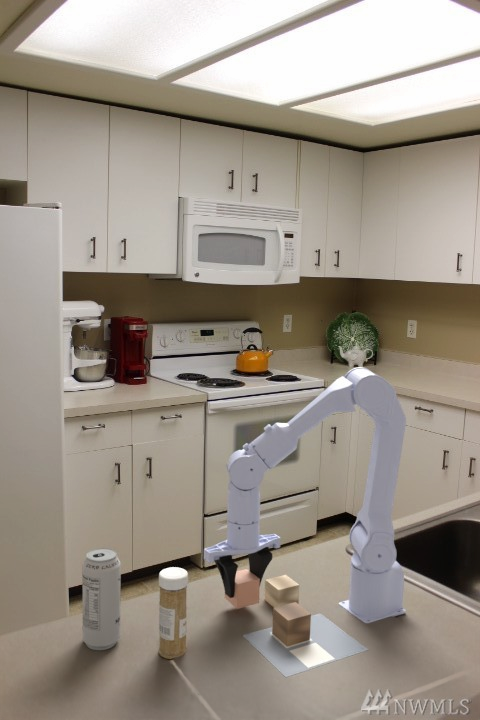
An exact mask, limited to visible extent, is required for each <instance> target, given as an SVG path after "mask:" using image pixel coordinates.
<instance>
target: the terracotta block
mask: <svg viewBox="0 0 480 720" xmlns="http://www.w3.org/2000/svg"><path fill="white" fill-rule="evenodd" d="M260 587H261V584H260V579H259V578H258V577H257V576H255V575H254V574H253V573H251V572H250V569H248V568H246V569H240V570H237V572H236V577H235V593H234V597H233V598H230V597H228V596H227V595H226V594H225V593H224V599H225V600H226V601H228V602H229V603H230V604H231V605H232V606H233V607H234V608H236V609H242V608H245V607H249V606H253V605H257V604H260Z"/></svg>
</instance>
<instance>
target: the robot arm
mask: <svg viewBox="0 0 480 720" xmlns="http://www.w3.org/2000/svg"><path fill="white" fill-rule="evenodd" d="M355 405H357V406H358V407H359V408H360V409H361V410H363V411H364V412H365V413H366V414H367V415H368V417H369V418H370V419H371V420H372V421H373V422H374V429H373V436H372V442H371V448H370V449H371V450H370V454H369V455H370V456H369V462H368V468H367V476H366V482H365V489H364V496H363V502H362V508H361V509H360V510H359V511H358V512H357V514H356V520H355V523H353V525H352V527H351V529H350V530H349V535H348V538H349V542H350V545H351V546H352V547H353V548H354V551H353V553H352V556H351V557H350V571H349V573H350V574H349V588H348V589H349V592H348V593H349V594H348V599H347V600H344V601H341V602H338V605H339V606H340V607H341V608H343V609H344V610H346V611H347V612H349V613H350V614H351V615H353V617H356V618H357V619H358V620H360V621H361V622H362V623H365V624H370V623H374V622H377V621H379V620H383V619H387V618H389V617H397V616H400V615H403V614H406V612H407V610H406V609H405V608H403V606H404V605H403V604H404V592H405V591H404V590H405V589H404V588H405V576H404V571H403V568H402V566H401V564H400V563H399V562H398V561H397V548H396V545H395V541H394V540H395V529H394V524H393V519H392V515H393V507H394V501H395V495H396V489H397V482H398V476H399V469H400V464H401V463H400V462H401V457H402V450H403V443H404V438H405V431H406V426H407V417H406V414H405V412H404V409H403V408H402V405H401V403H400V400H399V399H398V396H397V390H396V388H394V386H392V385H391V383H390V382H389V381H387V379H385V378H384V377H383V376H380V375H378V374H377V373H374V372H372V371H371V370H370V369H368V368H366V367H362V366H360V367H359V366H358V367H355V368H351V369H350V370H348V371H347V372H346V373H345V375H344V376H343V375H342V376H340V377H338V378H337V379H335V380H334V381H333V382H332V383H331V384H330V385H329V386H328V387H327V388H326V389H325V390H323V391H322V392H321V393H320V394H319V395H317V396H316V397H315V398H314V399H313V400H312V401H311V402H310V403H308V405H306V406H305V407H304V408H303V409H302V410H301V411H299V412H298V413H297V414H296V415H295V416H293V418H291V419H290V420H289V421H287V422H275V423H274V424H273V425H271V424H269V423H268V424H267V425H266V426H265V427H263V430H264V432H262V433H261V434H259V436H257V437H256V438H255V439H253V440H252V441H250V443H247V442H246V443H245V444H243V445H242V449H238V450H236V451H234V452H233V453H231V455H230V456H229V457H228V460H227V463H226V470H227V473H228V477H229V478H228V479H229V481H228V485H227V486H228V492H227V511H226V513H227V515H226V517H227V518H226V521H227V522H226V525H227V527H226V528H227V529H226V540H223V541H221V542H219V543H217V544H214V545H212V546H209V547H204V549H203V560H205V562H207V563H208V564H212V563H214V564H215V565H216V567H217V569H218V570H217V571H218V572H219V574H220V577H221V580H222V581H221V582H222V584H223V585H222V586H223V589H224V595H225V594H226V595H227V596H228V597H230V598H233V597H234V593H235V577H236V572H237V571H238V568H239V565H238V564H237V563H236V562H235V561H234V560H235V559H234V558H233V557H235V556H240V555H247V557H248V564H249V565H248V566H249V567H248V568H249V571H250V572H251V573H253V574H254V575H255V576H257V577H258V578H259V579H260V585H261V583H262V581H263V579H264V574H265V572H266V570H267V568H268V566H269V565H270V564H271V561H272V560H273V553H272V552H271V551H270V549H272V548H274V549H279V548H281V536H279V535H277V534H276V533H273V534H260V533H261V532H260V529H261V527H260V526H261V525H260V523H261V522H260V521H261V493H260V485H261V484H262V482H263V479H264V476H265V473H266V472H269V471H271V470H272V469H274V467H276V466H277V465H278V464H280V463H281V462H282V461H284V459H286V458H287V457H288V456H289V455H291V454H292V453H293V452H295V451H296V450H297V449H298V443H299V440H300V438H301V437H303V436H304V435H305V434H307V433H308V432H309V431H311V430H312V429H314V428H315V427H317V426H318V425H319V424H321V423H322V422H323V421H325V420H326V419H328V418H330V417H331V416H332V415H333V414H335V413H337V412H338V413H339V412H341V413H342V412H343V413H345V412H346V413H350V412H356V408H355Z"/></svg>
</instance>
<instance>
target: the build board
mask: <svg viewBox="0 0 480 720" xmlns="http://www.w3.org/2000/svg"><path fill="white" fill-rule="evenodd" d="M242 637H243V638H244V639H245V640H246V641H247V642H248V643H249V644H250V645H251V646H253V647H254V648H255V650H257V651H258V652H259V653H260V654H261V655H262V656H263V657H264V658H265V659H266V660H267V661H268V662H269V663H270V664H271V665H272V666H273V667H274V668H275V669H276V670H277V671H278V672H279V673H280V674H281V675H282V676H284V677H285V678H289V677H291V676H294V675H297V674H300V673H303V672H304V673H305V672H307V671H310V670H312V669H315V668H319V667H321V666H325V665H328V664H331V663H334V662H337V661H340V660H343V659H345V658H349V657H352V656H354V655H357V654H361V653H364V652H367V651H369V649H368V648H367V647H365V646H364V645H363V644H362V643H360V642H359V641H357V640H356V639H355V638H354V637H352V636H350V634H348V633H347V632H345V631H344V630H343V629H341V628H340V627H339V626H338V625H336V624H335V623H334V622H333V621H331V620H330V619H329V618H327V617H326V616H324V615H323V614H322V613H317V614H314V615H312V614H311V625H310V640H307V641H304V642H301V643H298V644H294V645H291V646H288V647H287V646H286V645H285V644H284V643H282V642H281V641H280V640H279V639H278V638H277V637H276V636H275V635H273V634H272V626H271V627H267V628H264V629H260V630H256V631H253V632H249V633H246V634H242Z"/></svg>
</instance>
